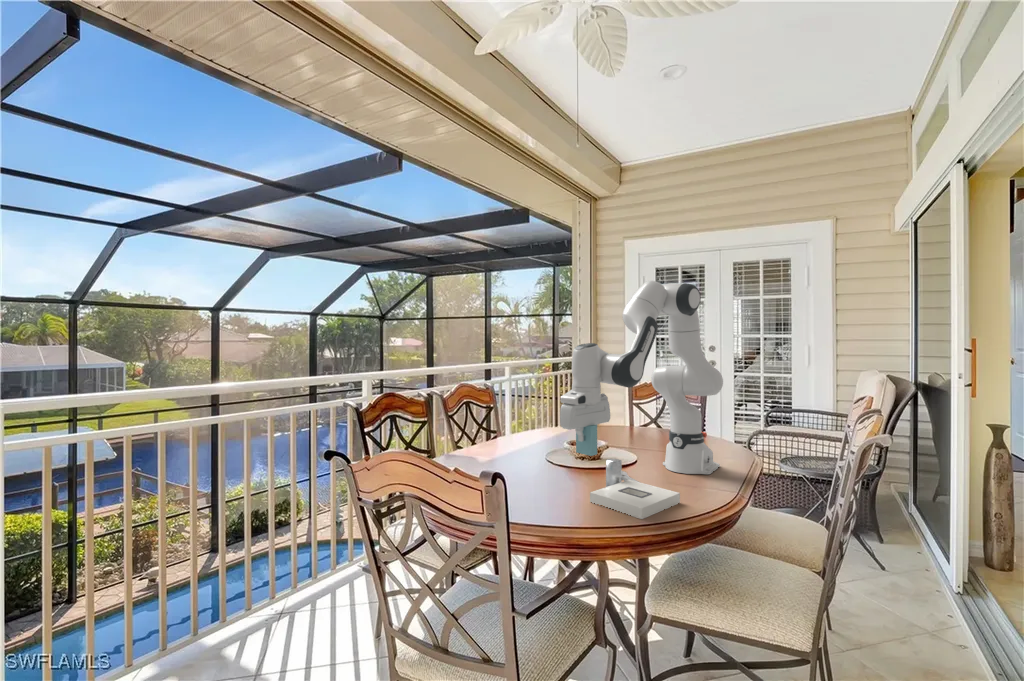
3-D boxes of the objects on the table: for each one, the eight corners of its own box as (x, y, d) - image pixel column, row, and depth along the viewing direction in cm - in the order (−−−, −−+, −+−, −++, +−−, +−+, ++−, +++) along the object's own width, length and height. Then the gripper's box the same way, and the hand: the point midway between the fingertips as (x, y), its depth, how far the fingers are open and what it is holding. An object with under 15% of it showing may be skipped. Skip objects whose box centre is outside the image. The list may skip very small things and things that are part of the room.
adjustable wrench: (660, 496, 151) (660, 491, 151) (641, 498, 150) (641, 492, 150) (622, 474, 175) (622, 469, 175) (606, 475, 174) (606, 470, 174)
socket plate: (629, 488, 157) (629, 479, 157) (679, 502, 144) (679, 492, 144) (589, 502, 144) (590, 491, 144) (641, 519, 130) (641, 507, 130)
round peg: (612, 484, 162) (612, 457, 162) (624, 488, 158) (624, 460, 158) (602, 487, 158) (602, 460, 158) (615, 491, 155) (615, 463, 155)
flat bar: (582, 450, 153) (582, 422, 152) (597, 454, 148) (597, 425, 148) (576, 452, 151) (575, 423, 150) (591, 456, 146) (590, 426, 146)
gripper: (599, 391, 158) (599, 433, 158) (556, 397, 145) (556, 443, 145) (615, 393, 153) (615, 436, 154) (572, 399, 140) (572, 447, 140)
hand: (586, 440), depth 149 cm, fingers closed on flat bar, 3 cm apart
